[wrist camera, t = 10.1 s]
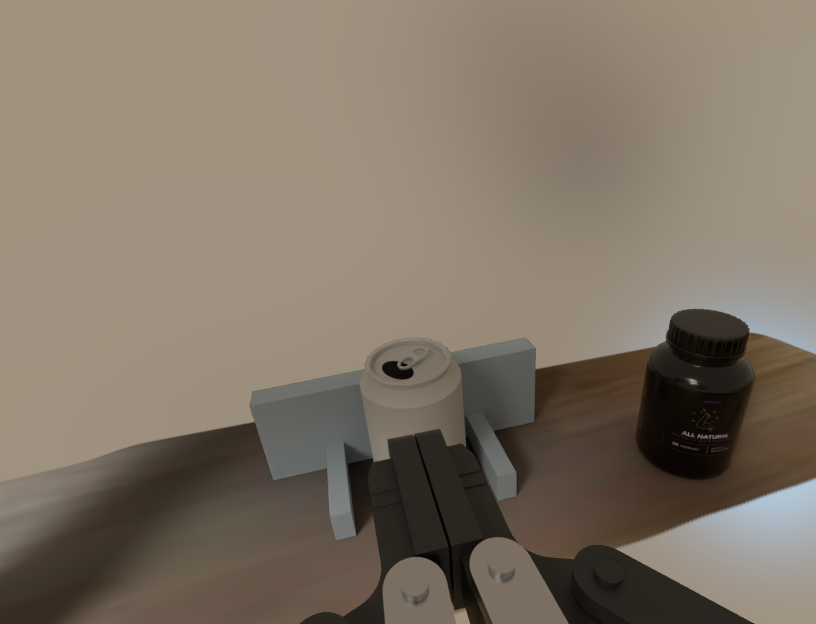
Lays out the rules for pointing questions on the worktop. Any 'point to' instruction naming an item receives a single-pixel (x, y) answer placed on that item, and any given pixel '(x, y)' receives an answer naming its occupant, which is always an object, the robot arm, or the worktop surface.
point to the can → (411, 393)
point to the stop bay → (348, 434)
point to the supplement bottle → (695, 394)
